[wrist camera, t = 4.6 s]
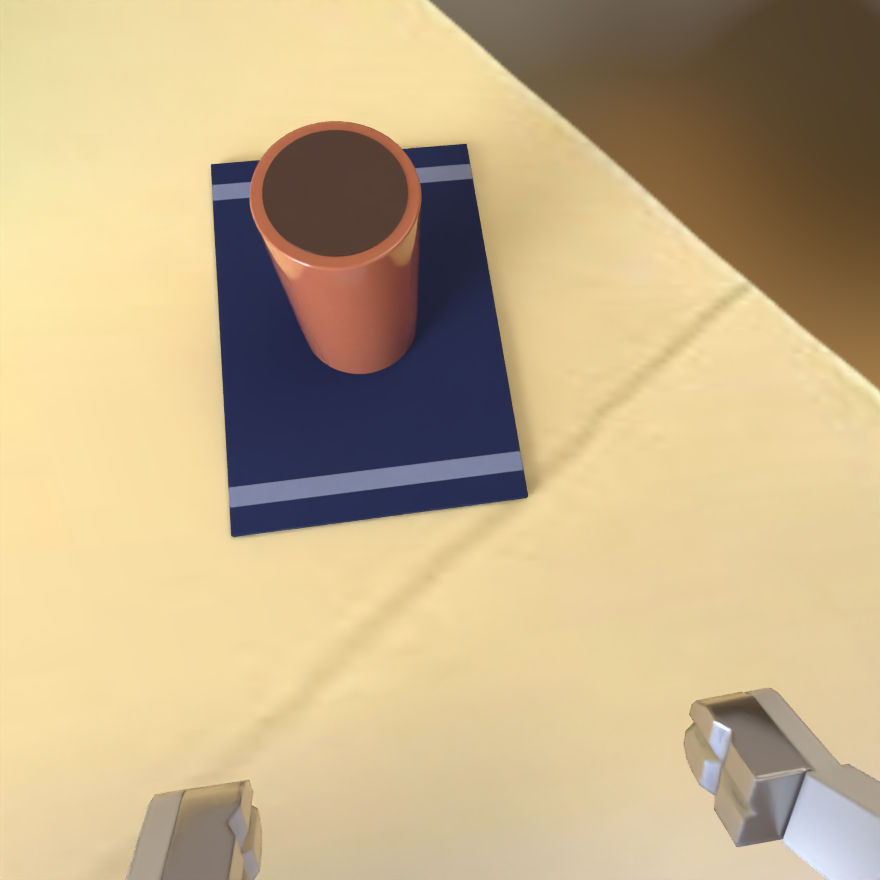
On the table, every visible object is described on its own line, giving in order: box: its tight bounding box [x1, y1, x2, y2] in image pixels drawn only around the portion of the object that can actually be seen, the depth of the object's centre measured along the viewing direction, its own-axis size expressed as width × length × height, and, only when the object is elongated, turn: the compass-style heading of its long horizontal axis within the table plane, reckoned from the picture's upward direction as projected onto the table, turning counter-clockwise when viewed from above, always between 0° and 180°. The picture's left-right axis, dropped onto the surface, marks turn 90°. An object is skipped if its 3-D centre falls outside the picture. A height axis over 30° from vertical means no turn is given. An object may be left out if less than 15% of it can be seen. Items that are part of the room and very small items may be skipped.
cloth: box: [211, 144, 528, 537], centre depth 29 cm, size 20×14×1 cm
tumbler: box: [250, 121, 421, 374], centre depth 24 cm, size 6×6×10 cm
